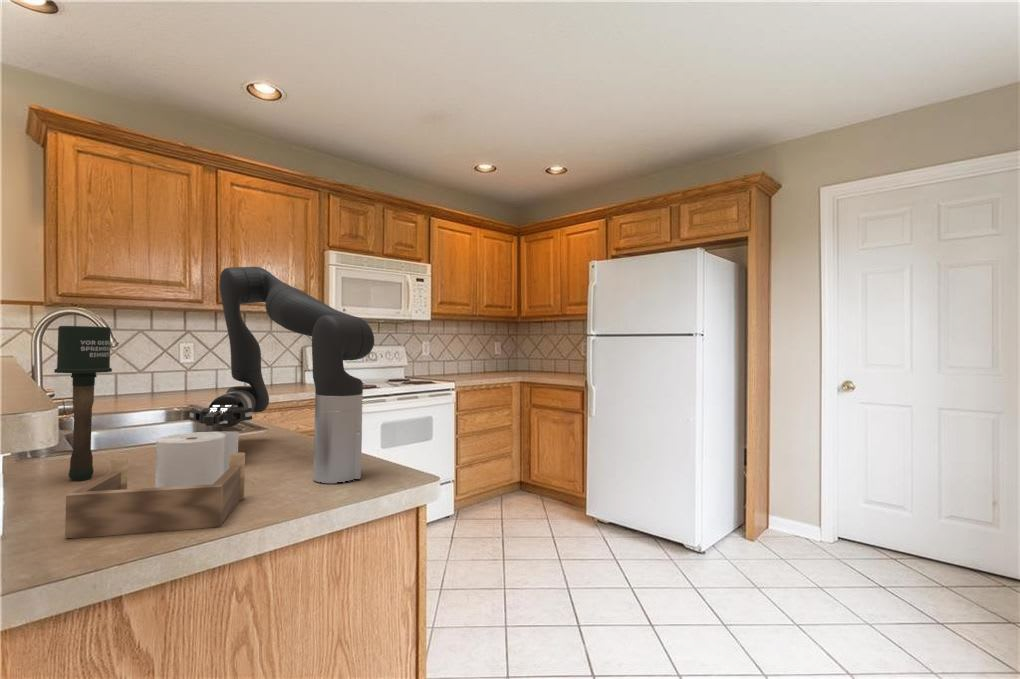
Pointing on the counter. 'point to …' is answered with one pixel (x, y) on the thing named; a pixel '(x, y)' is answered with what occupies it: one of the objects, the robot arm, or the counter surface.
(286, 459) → the counter surface
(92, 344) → the potato masher grenade
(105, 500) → the brown shallow open tray
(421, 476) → the counter surface
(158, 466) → the toilet tissue
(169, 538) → the counter surface
